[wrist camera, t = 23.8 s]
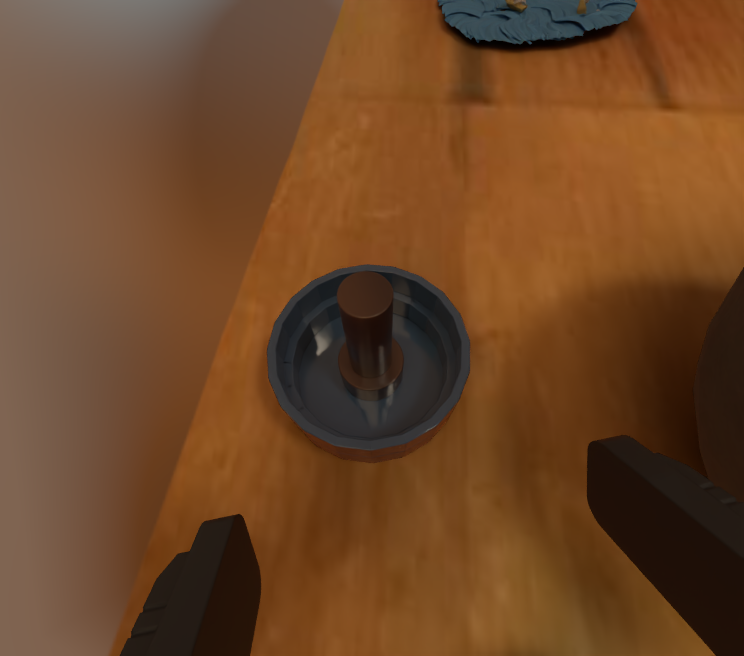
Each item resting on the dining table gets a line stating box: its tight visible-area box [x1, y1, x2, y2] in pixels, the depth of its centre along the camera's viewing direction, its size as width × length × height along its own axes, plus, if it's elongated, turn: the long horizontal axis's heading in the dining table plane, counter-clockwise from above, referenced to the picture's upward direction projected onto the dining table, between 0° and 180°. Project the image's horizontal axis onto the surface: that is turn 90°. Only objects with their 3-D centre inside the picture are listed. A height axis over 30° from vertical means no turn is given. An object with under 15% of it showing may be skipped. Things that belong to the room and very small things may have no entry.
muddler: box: [337, 271, 404, 401], centre depth 25 cm, size 5×5×11 cm
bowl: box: [267, 264, 470, 463], centre depth 28 cm, size 14×14×6 cm
